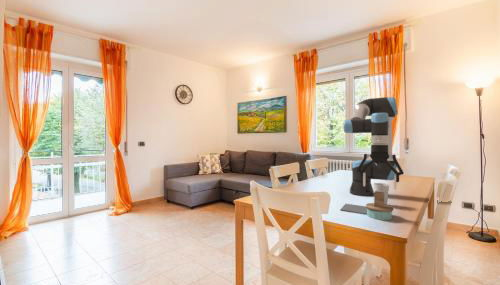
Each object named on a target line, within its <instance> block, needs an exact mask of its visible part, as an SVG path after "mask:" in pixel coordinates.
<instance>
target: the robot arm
mask: <svg viewBox="0 0 500 285" xmlns="http://www.w3.org/2000/svg"><path fill="white" fill-rule="evenodd" d="M353 108H354V109H353V112H352V113H353V114H352V116H351V118H350V119H345V120H344V121H343V131H344V133H345V134H364V133H365V134H370V144H371V145H370V154H369V153H364V155H363V159H358V160H354V161H353V162H352V164H351V165H352V166H351V167H352V172H351V174H352V175H351V176H352V180H351V185H350V188H349V193H350V194H351V195H354V196H361V197H370V196H374V187H373V185H372V180H380V181H382V180H383V181H393V183H394V184H393V185H394V186H393V188H394V189H393V190H397V183H399V182H400V176H401V175H404V170H403V168H402V167H401V164H399V162H398V160H397V155H396V154H393V121H394V119H395V118H396V116H397V115H398V106H397V100H396V98H395V97H393V96H389V97H388V96H386V97H374V98H366V99H364V100H361V101H360V102H358V103H357V104H356V105H355V107H353ZM366 117H371V118H366ZM368 158H370V159H368Z"/></svg>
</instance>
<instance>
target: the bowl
mask: <svg viewBox="0 0 500 285" xmlns="http://www.w3.org/2000/svg"><path fill="white" fill-rule="evenodd" d="M366 216H367V217H369V218H371V219H374V220H378V221H390V220H392V219H393V211H391V212H378V211H373V210H369V209H367V215H366Z"/></svg>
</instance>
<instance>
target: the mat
mask: <svg viewBox="0 0 500 285" xmlns="http://www.w3.org/2000/svg"><path fill="white" fill-rule="evenodd" d="M340 212H347V213H352V214H353V213H355V214H360V215H366V216H367V208H366V205H357V204H353V203H352V204H351V203H345V204H343V206H341V208H340Z"/></svg>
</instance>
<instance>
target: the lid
mask: <svg viewBox="0 0 500 285" xmlns="http://www.w3.org/2000/svg"><path fill="white" fill-rule="evenodd" d="M373 197H374V198H373V199H374V202H369V203H366V204H365V206H366V208H367V209H369V210H373V211H378V212H391V211H392V212H393V211H394V207H393V206H392V205H389V204H387V205H386V204H384V192H379V191H375V192H374V195H373Z"/></svg>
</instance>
